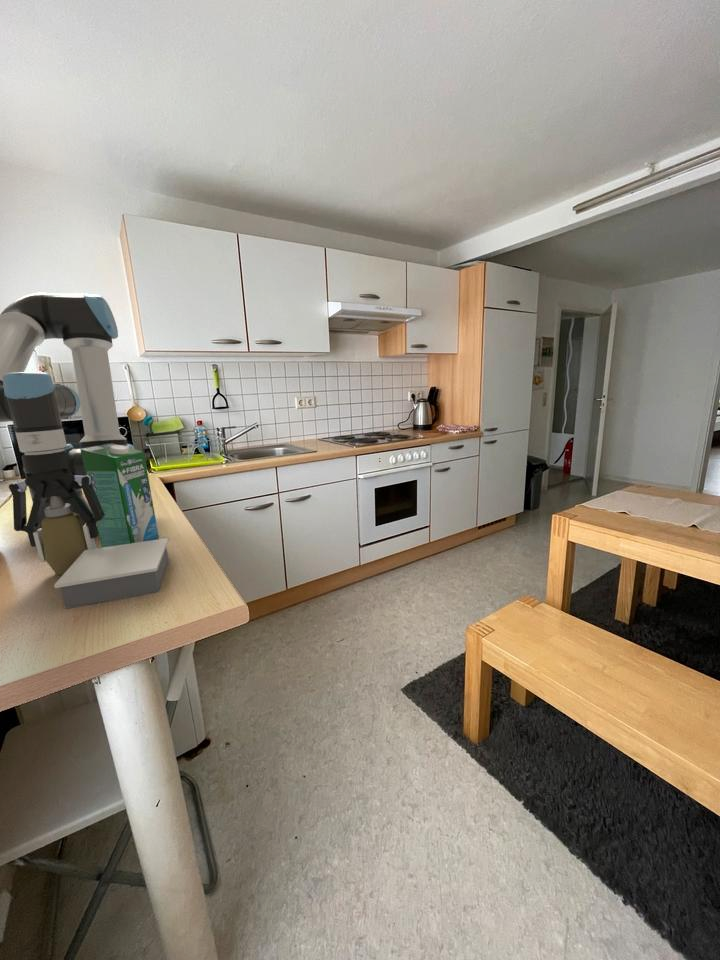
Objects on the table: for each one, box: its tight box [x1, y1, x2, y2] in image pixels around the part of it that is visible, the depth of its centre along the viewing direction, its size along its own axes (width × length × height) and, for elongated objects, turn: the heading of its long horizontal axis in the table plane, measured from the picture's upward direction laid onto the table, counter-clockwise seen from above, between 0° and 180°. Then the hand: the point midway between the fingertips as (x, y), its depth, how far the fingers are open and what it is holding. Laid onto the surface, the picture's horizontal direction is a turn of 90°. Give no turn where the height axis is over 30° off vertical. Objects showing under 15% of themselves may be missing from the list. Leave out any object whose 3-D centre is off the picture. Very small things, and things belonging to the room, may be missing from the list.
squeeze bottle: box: [41, 496, 88, 576], centre depth 82 cm, size 8×8×18 cm
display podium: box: [54, 537, 170, 609], centre depth 77 cm, size 16×16×5 cm
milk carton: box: [81, 443, 160, 548], centre depth 95 cm, size 9×9×25 cm
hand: (69, 555), depth 84 cm, fingers closed on squeeze bottle, 8 cm apart
